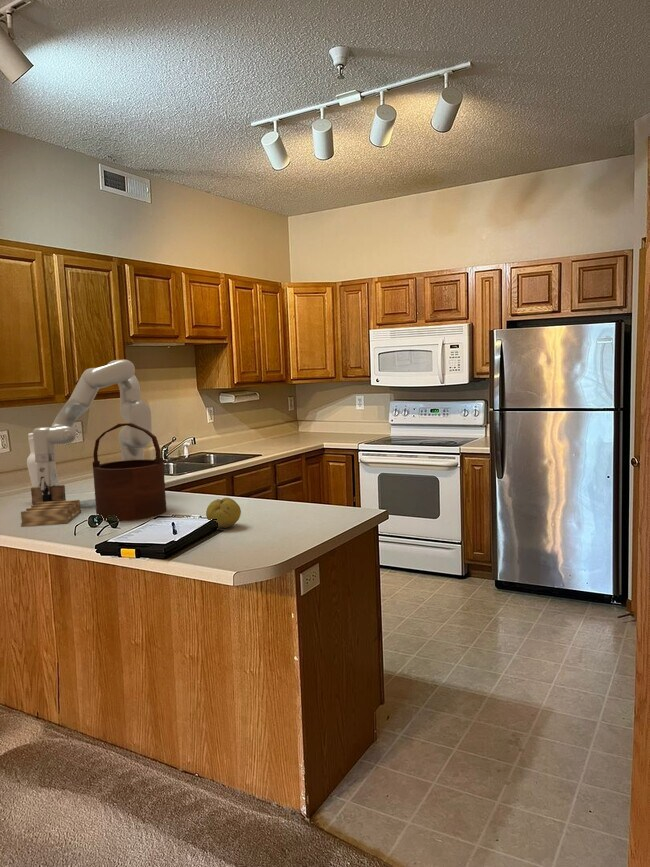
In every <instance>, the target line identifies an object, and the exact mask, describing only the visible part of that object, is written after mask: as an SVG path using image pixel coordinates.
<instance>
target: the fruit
mask: <svg viewBox="0 0 650 867" xmlns="http://www.w3.org/2000/svg"><path fill="white" fill-rule="evenodd" d="M205 512H206V513H205V516H206V519H207V521H208V520H211V519H217V520H214V521H216V522H217V523H218V526H217V527H219V528H224V529H227V528H229V527H232V526H233V525H235V524H237V522H238V521H239V519H240V518H241V516H242V515H241V514H242V509H241V507H240V505H239V504H238V503H237V502H236V501H235V500H234V499H232V498H230V497H224V498H222V499H220V498H218V499H214V500H213V501H211V502H210V503H209V505H208V506H207V508H206V511H205Z"/></svg>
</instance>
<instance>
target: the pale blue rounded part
mask: <svg viewBox="0 0 650 867" xmlns="http://www.w3.org/2000/svg"><path fill="white" fill-rule="evenodd" d="M88 508H89V509H90V508H96V501H95V498H94V499H93V498H92V499H86V500H82V501H80V509H88Z"/></svg>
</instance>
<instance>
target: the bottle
mask: <svg viewBox="0 0 650 867" xmlns="http://www.w3.org/2000/svg"><path fill="white" fill-rule="evenodd" d="M27 436H28V438H27V440H28V446H29V450H30V454H29V455H28V457H27V459H26V466H27V471H28V475H29V479H30V483H31V488H32V487H39V485H38V475H37V463H35V452H34V440H33V432H30V433H28V434H27Z"/></svg>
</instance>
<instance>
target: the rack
mask: <svg viewBox="0 0 650 867" xmlns="http://www.w3.org/2000/svg"><path fill="white" fill-rule="evenodd" d="M81 513H82V509H81V508H80V499H74V500H66V501H52V502H37V503H36V505H32V504H31V506H30V507H27V508H26V509H25V510H22V511H20V518H21V522H20V525H21V527H30V526H31V527H33V526H36V527H37V526H47V525H64V524H69V523H71V521H73V520H74V519H75V518H76V517H78V515H80V514H81Z"/></svg>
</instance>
